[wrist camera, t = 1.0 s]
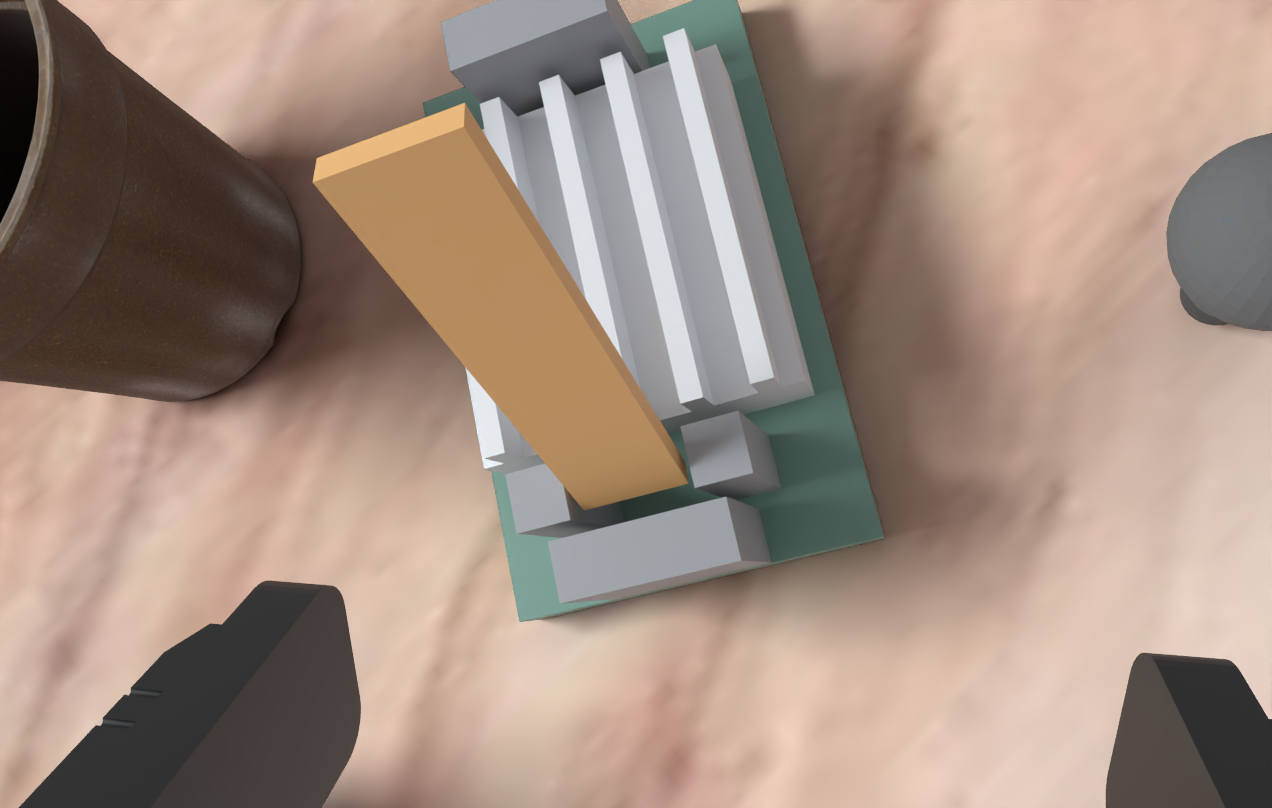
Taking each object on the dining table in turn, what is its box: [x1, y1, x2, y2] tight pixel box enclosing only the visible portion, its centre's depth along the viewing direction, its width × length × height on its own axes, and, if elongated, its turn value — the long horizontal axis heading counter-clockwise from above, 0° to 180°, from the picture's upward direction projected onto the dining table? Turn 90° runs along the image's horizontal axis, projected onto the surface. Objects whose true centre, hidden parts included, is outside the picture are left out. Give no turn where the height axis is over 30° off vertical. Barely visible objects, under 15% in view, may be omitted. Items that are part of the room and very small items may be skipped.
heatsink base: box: [423, 0, 885, 622], centre depth 37 cm, size 14×22×8 cm, turn 13°
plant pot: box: [0, 0, 302, 402], centre depth 40 cm, size 16×16×16 cm
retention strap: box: [313, 103, 688, 510], centre depth 27 cm, size 15×4×1 cm
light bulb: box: [1167, 133, 1272, 331], centre depth 31 cm, size 6×6×10 cm
